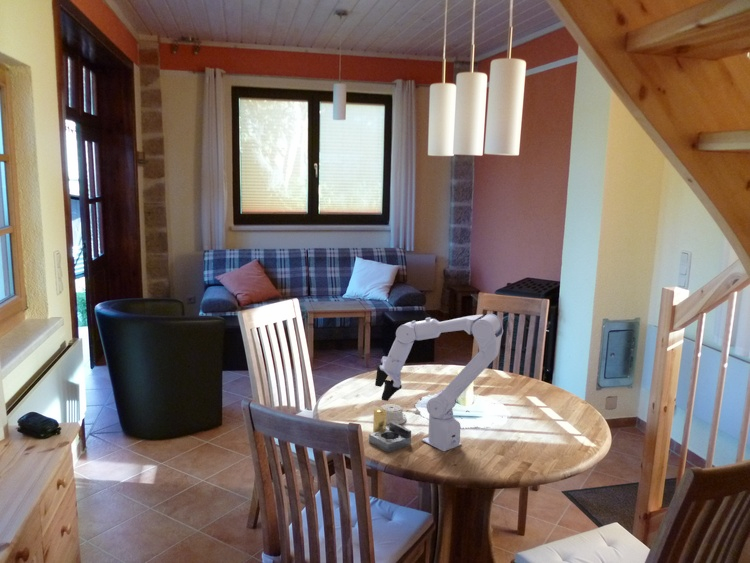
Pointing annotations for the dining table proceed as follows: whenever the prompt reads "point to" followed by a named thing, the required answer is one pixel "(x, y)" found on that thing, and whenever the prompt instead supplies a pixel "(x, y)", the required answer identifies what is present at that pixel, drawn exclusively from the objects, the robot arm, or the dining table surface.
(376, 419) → the brass cylinder rod
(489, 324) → the robot arm
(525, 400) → the dining table surface
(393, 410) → the mechanical component
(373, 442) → the jig
